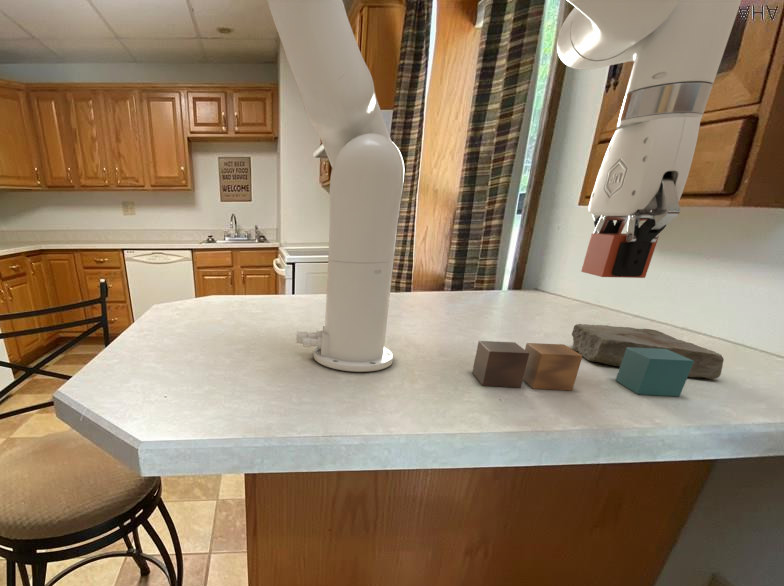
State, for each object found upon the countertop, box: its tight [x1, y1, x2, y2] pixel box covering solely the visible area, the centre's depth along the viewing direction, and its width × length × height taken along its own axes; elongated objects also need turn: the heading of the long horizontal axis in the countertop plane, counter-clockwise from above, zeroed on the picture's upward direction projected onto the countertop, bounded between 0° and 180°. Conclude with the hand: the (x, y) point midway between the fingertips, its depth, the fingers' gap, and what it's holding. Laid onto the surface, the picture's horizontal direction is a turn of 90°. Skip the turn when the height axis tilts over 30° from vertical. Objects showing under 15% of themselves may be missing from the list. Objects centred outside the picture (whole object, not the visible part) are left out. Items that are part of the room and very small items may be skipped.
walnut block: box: [471, 340, 529, 389], centre depth 59 cm, size 5×5×5 cm
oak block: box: [523, 342, 583, 391], centre depth 59 cm, size 5×5×5 cm
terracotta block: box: [580, 232, 660, 279], centre depth 55 cm, size 5×5×5 cm
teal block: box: [615, 347, 694, 397], centre depth 57 cm, size 5×5×5 cm
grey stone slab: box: [571, 323, 724, 380], centre depth 68 cm, size 17×15×4 cm
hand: (612, 271), depth 55 cm, fingers closed on terracotta block, 5 cm apart
